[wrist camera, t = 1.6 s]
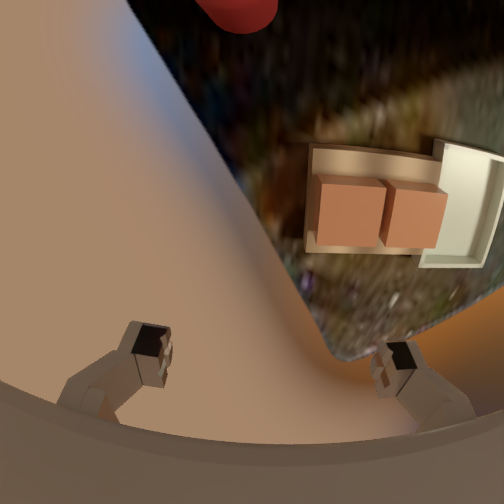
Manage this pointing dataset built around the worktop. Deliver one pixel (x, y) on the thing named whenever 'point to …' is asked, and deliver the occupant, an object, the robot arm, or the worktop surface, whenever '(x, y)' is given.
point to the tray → (466, 206)
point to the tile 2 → (412, 214)
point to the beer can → (240, 14)
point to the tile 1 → (348, 210)
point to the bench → (363, 165)
